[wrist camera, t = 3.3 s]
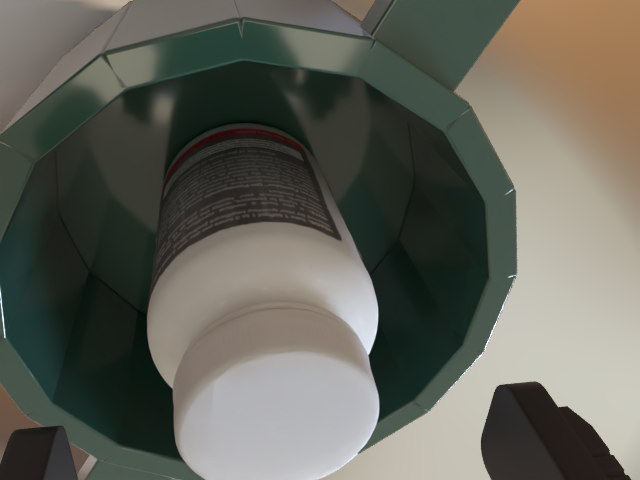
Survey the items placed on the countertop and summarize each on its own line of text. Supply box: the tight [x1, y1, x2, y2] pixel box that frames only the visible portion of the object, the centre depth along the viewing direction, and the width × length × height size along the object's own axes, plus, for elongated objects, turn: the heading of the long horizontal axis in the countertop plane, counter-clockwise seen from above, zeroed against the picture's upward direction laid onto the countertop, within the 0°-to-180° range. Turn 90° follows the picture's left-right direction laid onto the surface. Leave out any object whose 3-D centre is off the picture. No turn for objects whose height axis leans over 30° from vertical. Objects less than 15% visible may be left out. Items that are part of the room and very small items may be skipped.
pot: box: [0, 0, 520, 480], centre depth 17 cm, size 13×19×6 cm
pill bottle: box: [147, 123, 379, 480], centre depth 15 cm, size 5×5×10 cm
